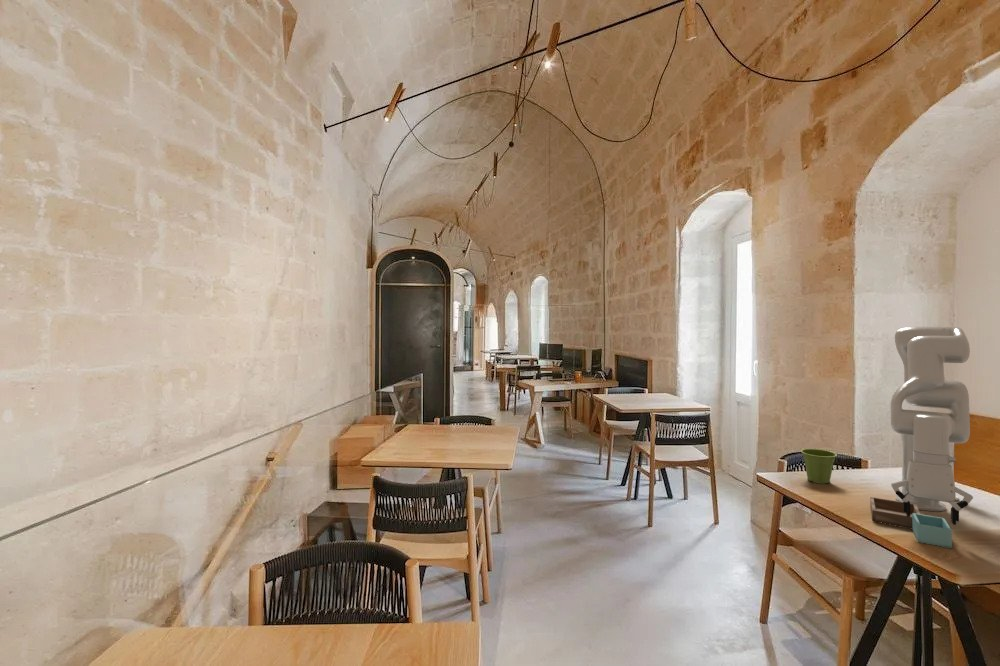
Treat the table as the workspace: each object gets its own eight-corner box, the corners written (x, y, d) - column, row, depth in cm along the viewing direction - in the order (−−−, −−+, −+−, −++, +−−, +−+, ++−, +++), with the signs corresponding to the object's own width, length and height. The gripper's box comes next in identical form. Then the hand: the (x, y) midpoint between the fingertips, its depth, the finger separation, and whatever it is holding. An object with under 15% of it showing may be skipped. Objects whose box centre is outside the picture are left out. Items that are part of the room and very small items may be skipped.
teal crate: (912, 529, 142) (912, 512, 142) (944, 535, 138) (944, 518, 138) (917, 542, 134) (917, 524, 134) (951, 548, 130) (951, 530, 130)
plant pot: (794, 476, 194) (794, 448, 194) (823, 476, 194) (823, 448, 194) (813, 486, 182) (813, 456, 182) (844, 486, 182) (844, 456, 182)
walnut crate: (870, 507, 160) (870, 496, 160) (916, 515, 154) (916, 504, 154) (872, 521, 149) (872, 510, 148) (922, 530, 142) (922, 518, 142)
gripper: (969, 461, 135) (969, 522, 135) (890, 451, 145) (890, 509, 145) (975, 466, 129) (975, 530, 128) (892, 456, 139) (892, 516, 139)
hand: (930, 519), depth 137 cm, fingers open, 9 cm apart
